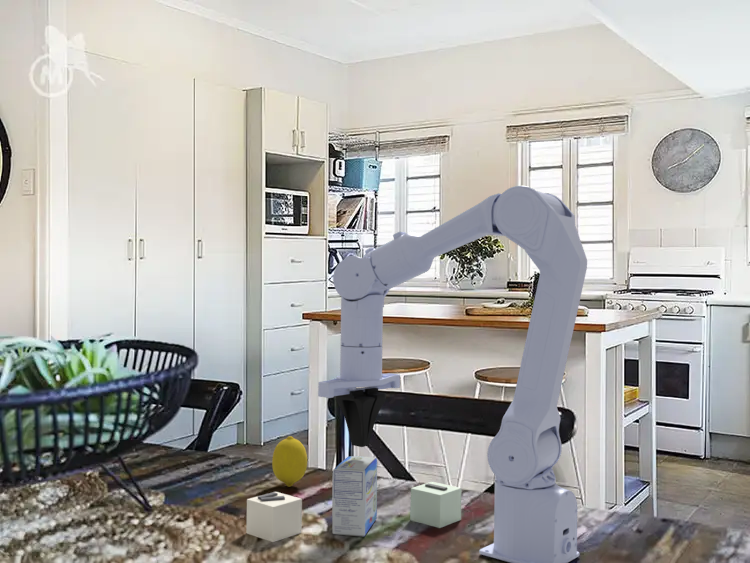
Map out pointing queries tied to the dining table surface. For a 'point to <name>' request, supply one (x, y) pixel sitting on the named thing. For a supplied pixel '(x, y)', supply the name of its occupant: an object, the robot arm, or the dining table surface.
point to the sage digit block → (435, 504)
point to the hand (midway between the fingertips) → (360, 445)
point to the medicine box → (354, 496)
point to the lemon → (289, 461)
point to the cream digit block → (274, 516)
